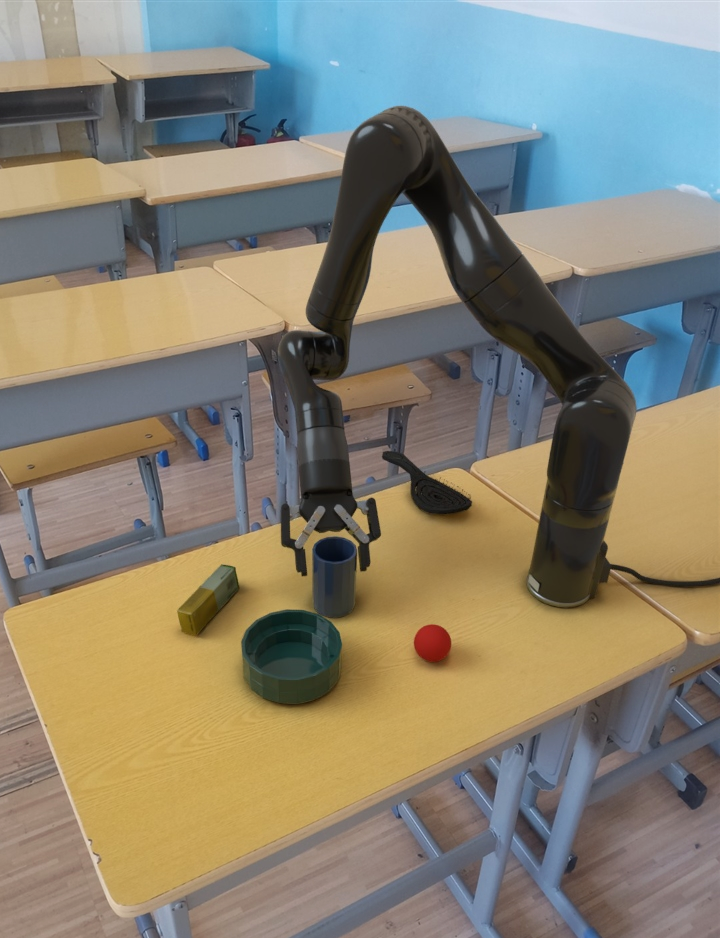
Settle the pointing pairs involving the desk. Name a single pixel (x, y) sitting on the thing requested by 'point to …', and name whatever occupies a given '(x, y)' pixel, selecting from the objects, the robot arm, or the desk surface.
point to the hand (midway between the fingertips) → (334, 573)
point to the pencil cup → (334, 576)
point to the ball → (432, 643)
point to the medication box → (208, 599)
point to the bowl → (291, 656)
